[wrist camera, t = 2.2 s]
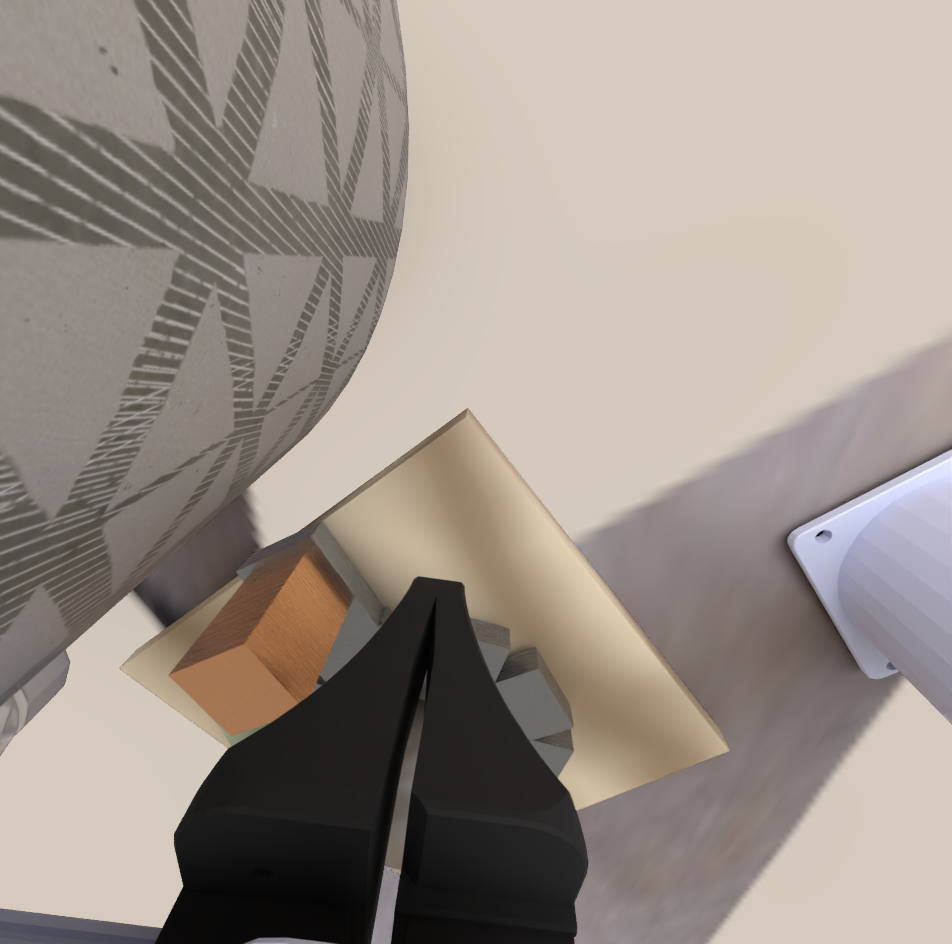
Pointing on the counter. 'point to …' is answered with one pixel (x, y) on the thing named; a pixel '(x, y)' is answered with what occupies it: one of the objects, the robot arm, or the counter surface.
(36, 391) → the planter
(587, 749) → the post board
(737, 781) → the counter surface
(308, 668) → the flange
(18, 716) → the white cup
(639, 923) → the counter surface
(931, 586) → the robot arm
